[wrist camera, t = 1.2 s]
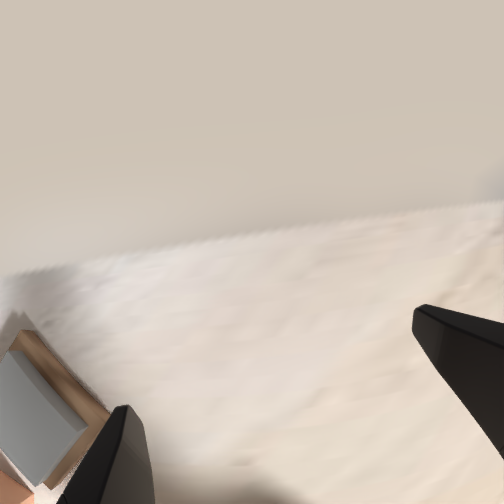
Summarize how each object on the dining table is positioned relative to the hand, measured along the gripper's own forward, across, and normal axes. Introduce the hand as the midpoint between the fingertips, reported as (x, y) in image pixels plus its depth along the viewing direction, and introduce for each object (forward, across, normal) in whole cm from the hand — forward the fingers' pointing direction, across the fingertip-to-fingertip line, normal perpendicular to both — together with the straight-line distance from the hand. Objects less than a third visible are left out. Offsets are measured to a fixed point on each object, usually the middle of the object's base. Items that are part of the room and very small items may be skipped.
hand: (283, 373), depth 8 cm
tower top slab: (+9, +19, +9) cm, 23 cm away
